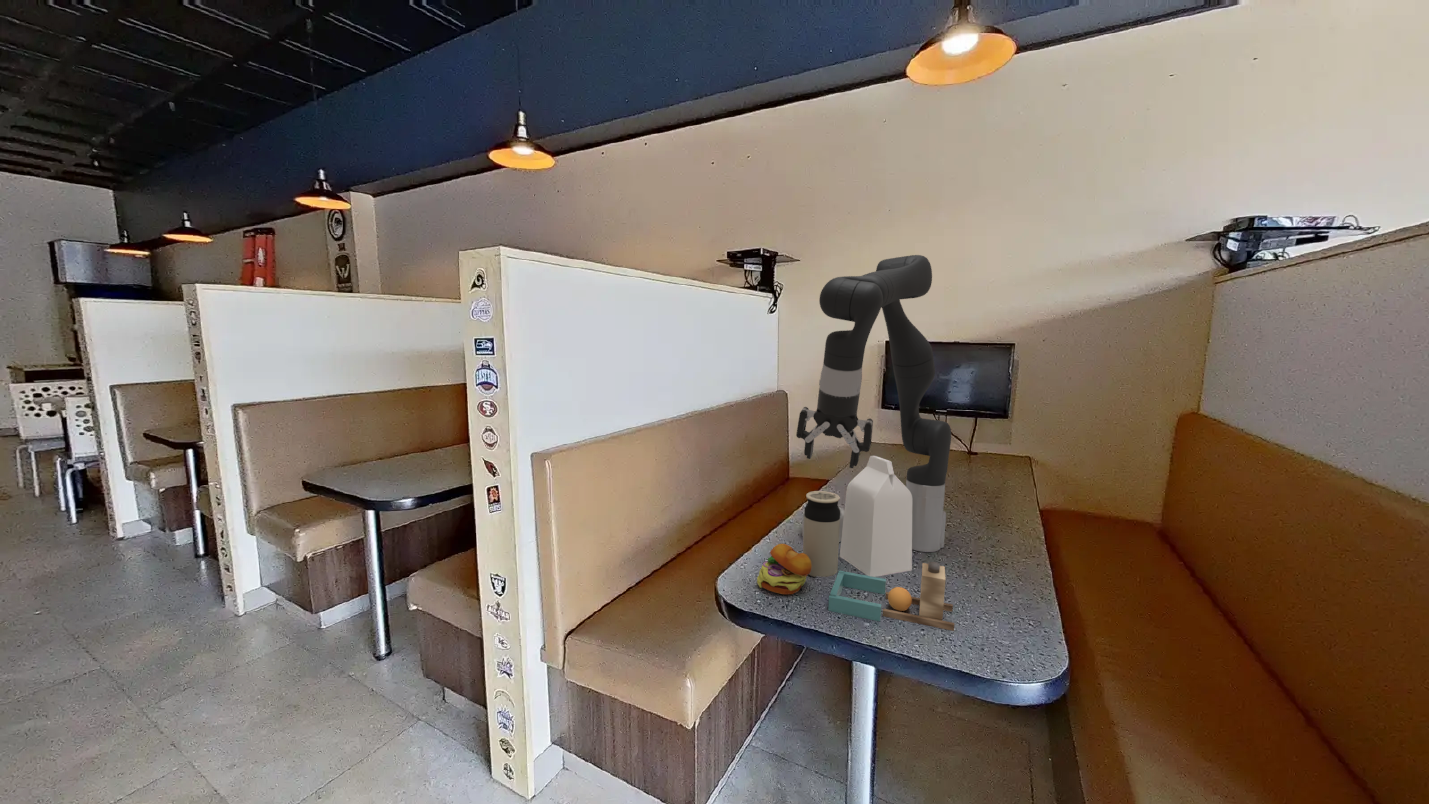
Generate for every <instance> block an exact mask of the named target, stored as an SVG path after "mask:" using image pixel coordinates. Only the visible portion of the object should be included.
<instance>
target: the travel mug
mask: <svg viewBox="0 0 1429 804" xmlns="http://www.w3.org/2000/svg"><path fill="white" fill-rule="evenodd" d="M805 496H806V500H807V503H806V505H805V507H804V510H805V511H804V510H803V511H804V537H803V539H802V541H803V542H802V545H803V546H802V553H804V554H806V555H807V556H808V557H809V559H810V560H811V565H812V568H811V572H810V574H808V575H809V576H810V577H813V578H817V577H820V578H824V577H825V578H827V577H833V576H835V574H838V572H839V570H838V567H839V551H840V547H839V546H840V543H839V529H840V509H839V507H840V506H839V501H840V500H841V497H840V496H839V494H837V493H835V492H831V491H826V490H825V491H824V490H823V491H822V490H814V491H809V492H808V493H806V495H805ZM838 506H839V507H838Z"/></svg>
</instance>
